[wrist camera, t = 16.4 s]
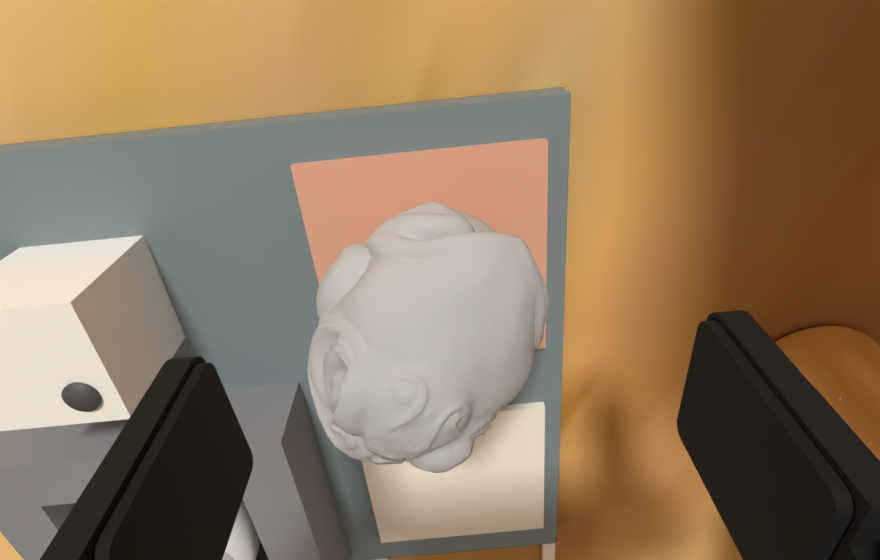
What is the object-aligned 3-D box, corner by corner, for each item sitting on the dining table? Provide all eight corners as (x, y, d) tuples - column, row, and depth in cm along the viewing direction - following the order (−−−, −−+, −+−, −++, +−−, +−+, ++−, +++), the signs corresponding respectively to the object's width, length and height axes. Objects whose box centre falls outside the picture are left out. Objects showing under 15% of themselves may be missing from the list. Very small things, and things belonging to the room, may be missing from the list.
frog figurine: (292, 288, 17) (224, 452, 11) (417, 117, 15) (415, 211, 9) (436, 371, 19) (445, 549, 13) (569, 234, 17) (655, 377, 11)
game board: (-119, 157, 16) (-325, 223, 12) (565, 86, 16) (623, 127, 11) (201, 658, 31) (165, 769, 27) (551, 627, 31) (572, 735, 27)
